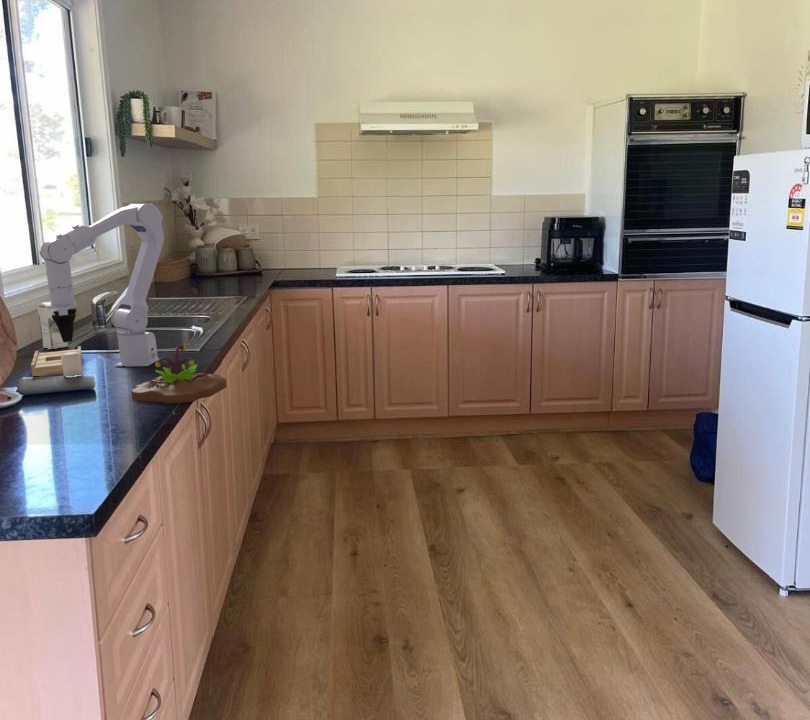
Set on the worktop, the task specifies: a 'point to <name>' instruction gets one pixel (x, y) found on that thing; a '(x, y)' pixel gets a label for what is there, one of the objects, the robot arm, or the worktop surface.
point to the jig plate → (49, 362)
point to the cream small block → (71, 364)
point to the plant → (179, 383)
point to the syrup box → (49, 328)
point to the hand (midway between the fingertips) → (68, 339)
